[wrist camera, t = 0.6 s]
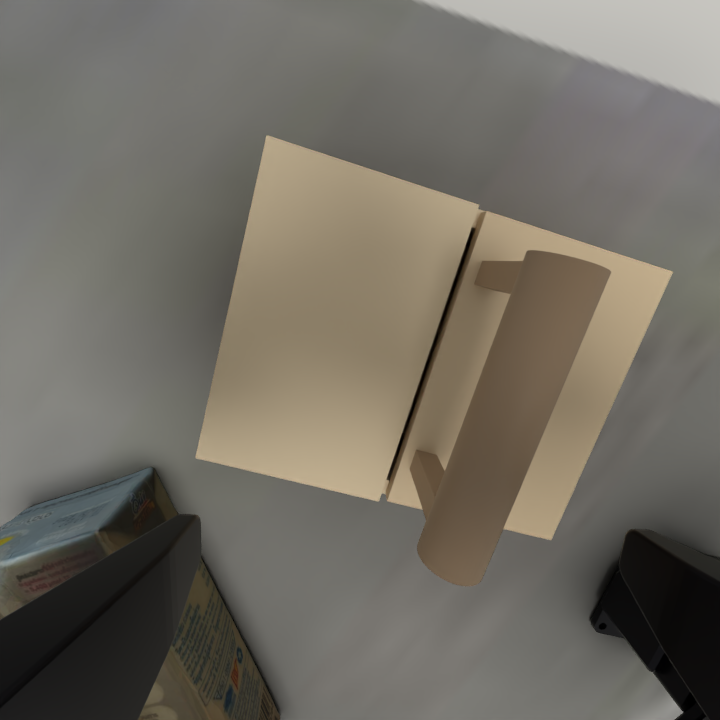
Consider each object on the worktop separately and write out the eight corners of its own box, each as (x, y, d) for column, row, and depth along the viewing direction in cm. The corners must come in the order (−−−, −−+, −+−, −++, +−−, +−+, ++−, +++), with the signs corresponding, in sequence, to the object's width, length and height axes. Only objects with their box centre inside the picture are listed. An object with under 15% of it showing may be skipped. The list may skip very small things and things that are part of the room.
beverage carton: (162, 456, 22) (89, 537, 16) (289, 711, 27) (273, 853, 20) (26, 501, 22) (-100, 599, 16) (175, 746, 27) (123, 897, 21)
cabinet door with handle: (659, 271, 14) (873, 278, 9) (543, 530, 17) (651, 674, 11) (477, 212, 14) (578, 177, 8) (383, 491, 16) (406, 623, 10)
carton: (568, 265, 20) (674, 268, 14) (490, 462, 23) (550, 542, 16) (292, 177, 19) (266, 135, 12) (239, 397, 21) (195, 457, 15)
